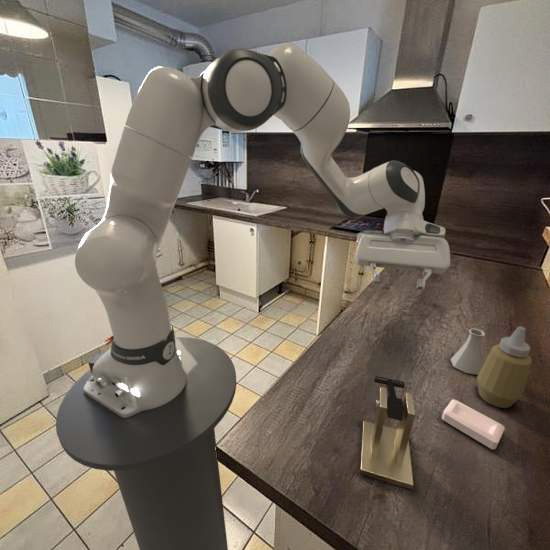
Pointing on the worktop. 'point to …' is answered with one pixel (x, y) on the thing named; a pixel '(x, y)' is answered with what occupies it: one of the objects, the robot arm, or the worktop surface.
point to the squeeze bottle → (505, 371)
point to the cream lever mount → (388, 445)
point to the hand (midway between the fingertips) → (397, 285)
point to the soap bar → (473, 423)
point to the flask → (470, 353)
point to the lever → (392, 398)
